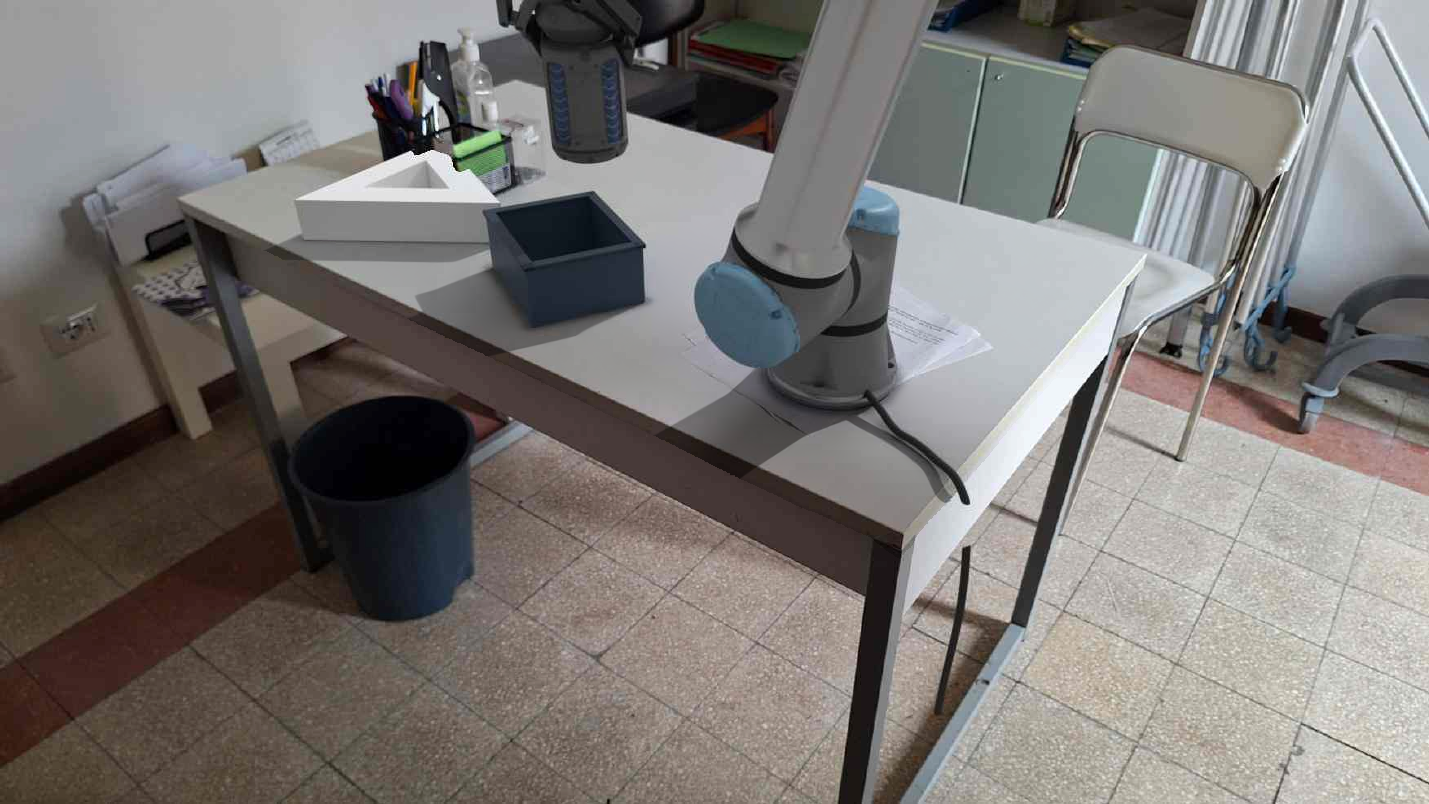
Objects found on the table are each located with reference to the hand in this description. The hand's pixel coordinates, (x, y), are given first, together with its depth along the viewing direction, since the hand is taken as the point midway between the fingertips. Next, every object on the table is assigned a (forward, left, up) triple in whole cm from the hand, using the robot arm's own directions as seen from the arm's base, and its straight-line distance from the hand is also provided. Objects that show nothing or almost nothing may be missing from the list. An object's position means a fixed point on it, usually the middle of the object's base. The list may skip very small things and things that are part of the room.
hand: (588, 55), depth 128 cm
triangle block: (+20, +19, -28) cm, 39 cm away
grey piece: (-2, +2, -12) cm, 13 cm away
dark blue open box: (-7, +8, -28) cm, 30 cm away
